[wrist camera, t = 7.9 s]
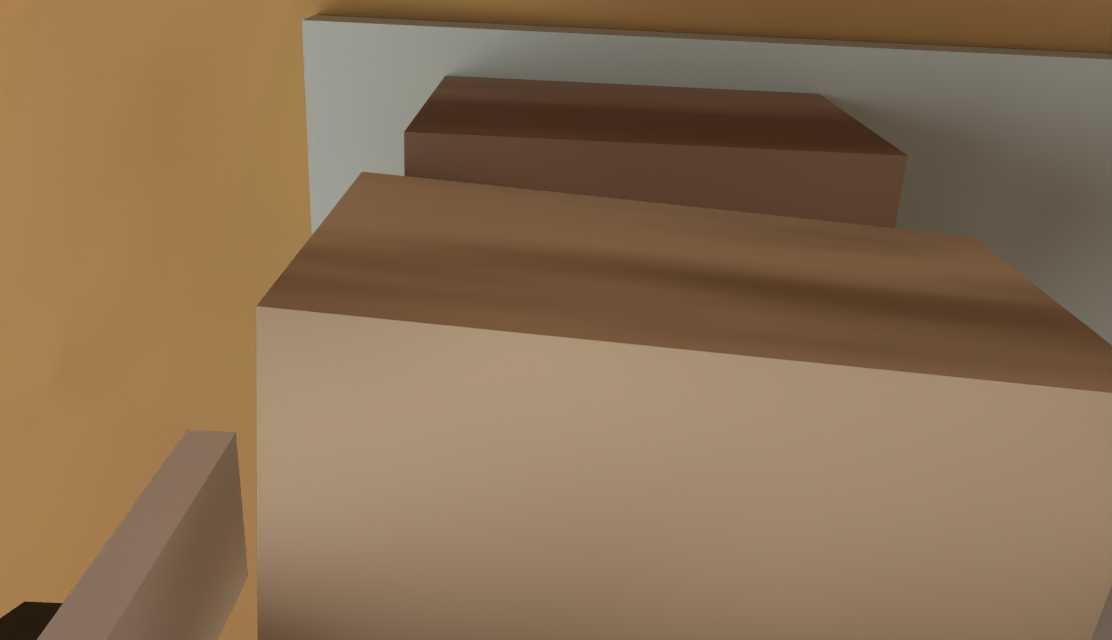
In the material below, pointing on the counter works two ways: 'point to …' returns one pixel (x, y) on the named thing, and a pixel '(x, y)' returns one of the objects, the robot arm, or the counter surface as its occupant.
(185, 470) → the robot arm
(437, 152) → the walnut base brick
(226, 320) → the counter surface
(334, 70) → the board
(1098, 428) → the oak brick
